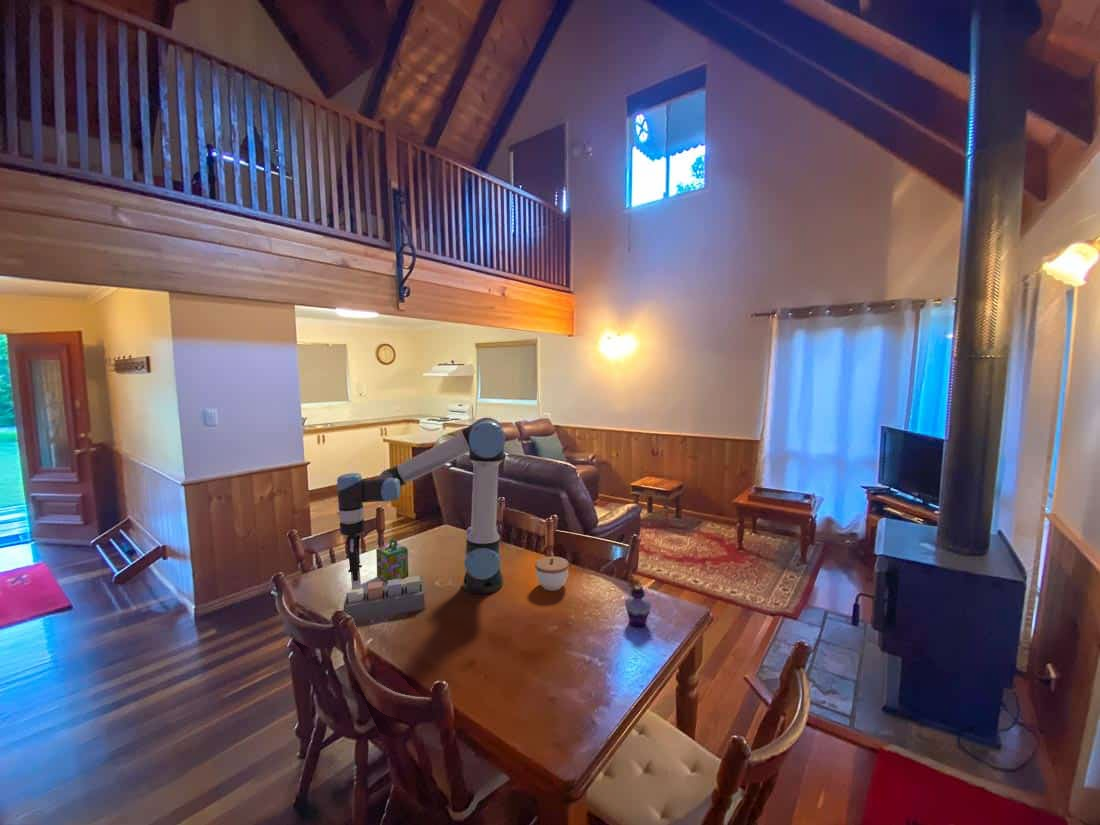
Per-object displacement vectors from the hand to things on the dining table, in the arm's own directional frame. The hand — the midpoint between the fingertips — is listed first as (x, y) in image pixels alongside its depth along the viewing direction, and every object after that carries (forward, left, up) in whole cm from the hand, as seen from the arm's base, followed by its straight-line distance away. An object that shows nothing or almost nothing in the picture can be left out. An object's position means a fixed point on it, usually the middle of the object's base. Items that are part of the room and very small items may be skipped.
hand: (356, 588), depth 154 cm
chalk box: (+8, -27, -9) cm, 29 cm away
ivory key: (0, 0, -7) cm, 7 cm away
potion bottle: (-90, -27, -9) cm, 94 cm away
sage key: (-14, -12, -5) cm, 19 cm away
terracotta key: (-4, -4, -5) cm, 8 cm away
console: (-7, -6, -9) cm, 13 cm away
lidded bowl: (-55, -41, -9) cm, 69 cm away
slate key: (-9, -8, -5) cm, 13 cm away
